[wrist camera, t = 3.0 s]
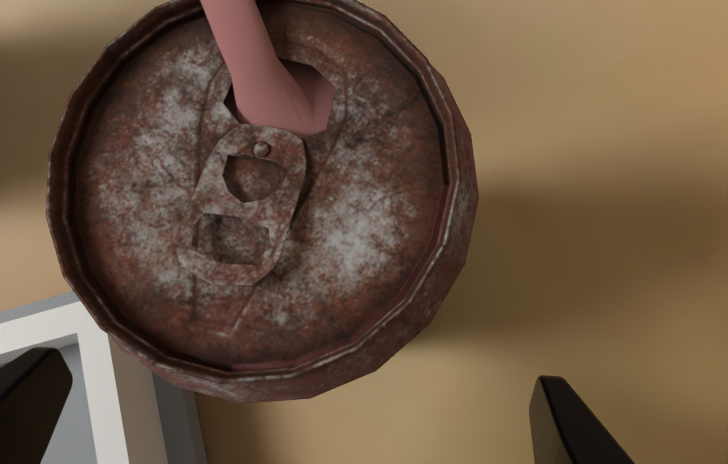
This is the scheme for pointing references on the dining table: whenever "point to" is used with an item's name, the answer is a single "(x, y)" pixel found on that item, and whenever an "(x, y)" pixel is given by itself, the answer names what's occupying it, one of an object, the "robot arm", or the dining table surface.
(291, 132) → the can
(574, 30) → the dining table surface
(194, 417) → the tray
